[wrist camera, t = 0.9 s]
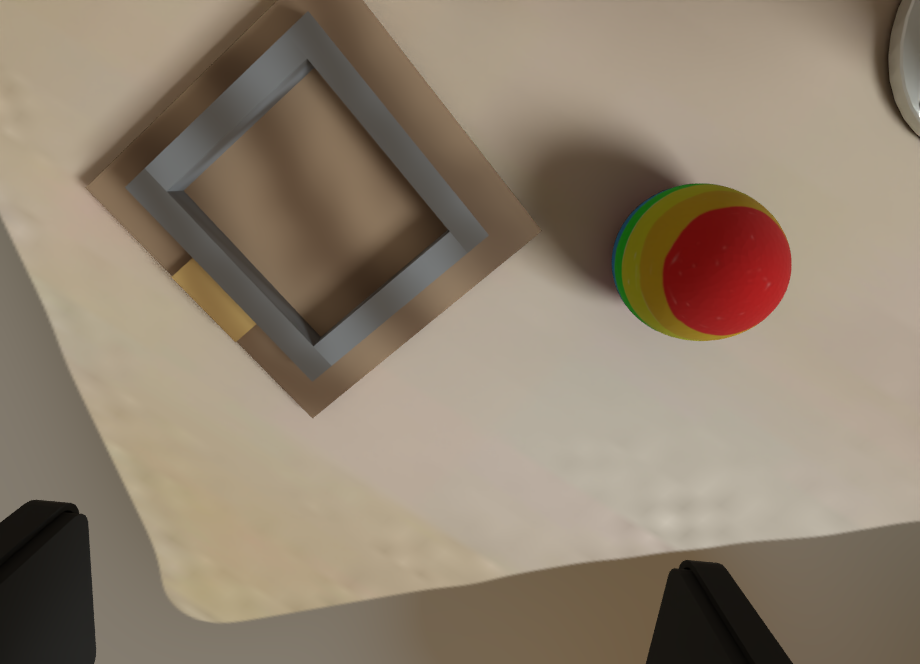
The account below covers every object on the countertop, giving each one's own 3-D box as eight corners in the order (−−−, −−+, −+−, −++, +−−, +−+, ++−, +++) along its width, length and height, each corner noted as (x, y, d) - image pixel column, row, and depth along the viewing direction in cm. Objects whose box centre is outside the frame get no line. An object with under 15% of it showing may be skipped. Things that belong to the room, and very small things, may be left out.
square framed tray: (329, -40, 29) (317, -64, 27) (539, 229, 33) (548, 234, 30) (96, 187, 32) (62, 188, 29) (316, 411, 36) (304, 432, 33)
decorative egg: (700, 334, 35) (797, 392, 26) (578, 298, 35) (631, 344, 25) (754, 206, 33) (880, 217, 24) (626, 165, 33) (703, 159, 23)
